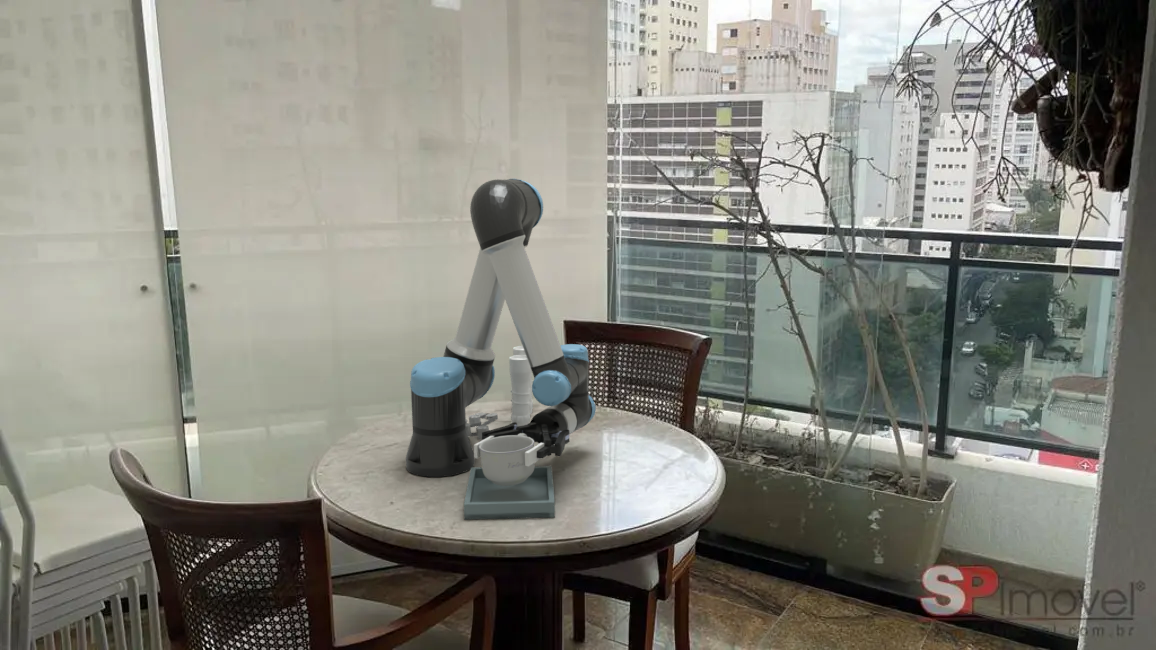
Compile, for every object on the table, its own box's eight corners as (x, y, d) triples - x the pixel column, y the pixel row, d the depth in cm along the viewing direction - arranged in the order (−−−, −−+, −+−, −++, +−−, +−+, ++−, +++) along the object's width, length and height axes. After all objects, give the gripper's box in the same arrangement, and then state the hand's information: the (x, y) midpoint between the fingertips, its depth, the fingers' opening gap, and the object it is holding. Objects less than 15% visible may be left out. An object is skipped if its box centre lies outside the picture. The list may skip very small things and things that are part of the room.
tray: (464, 519, 157) (463, 504, 157) (471, 481, 177) (471, 467, 176) (554, 517, 158) (554, 502, 158) (551, 479, 178) (551, 465, 177)
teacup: (514, 494, 158) (513, 454, 157) (469, 484, 164) (467, 445, 162) (554, 472, 170) (553, 434, 168) (511, 463, 175) (509, 426, 174)
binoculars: (530, 428, 213) (529, 359, 210) (509, 428, 213) (508, 359, 210) (534, 409, 230) (533, 345, 227) (514, 409, 230) (513, 345, 227)
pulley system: (456, 455, 196) (518, 445, 200) (454, 436, 195) (517, 426, 200) (439, 426, 222) (495, 418, 226) (438, 409, 221) (493, 401, 225)
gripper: (601, 448, 177) (554, 482, 158) (506, 434, 187) (451, 465, 168) (601, 414, 176) (553, 444, 157) (506, 402, 186) (449, 429, 166)
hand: (500, 455), depth 162 cm, fingers closed on teacup, 11 cm apart
